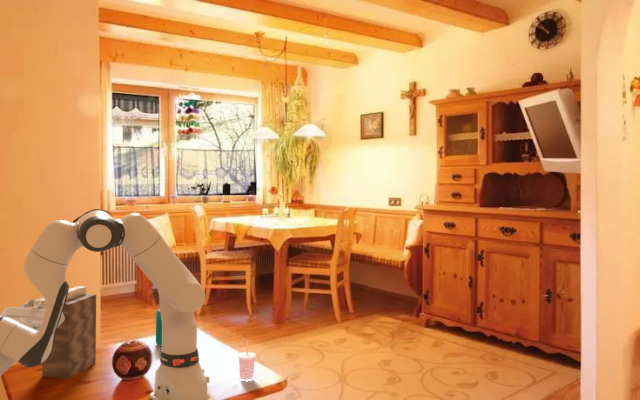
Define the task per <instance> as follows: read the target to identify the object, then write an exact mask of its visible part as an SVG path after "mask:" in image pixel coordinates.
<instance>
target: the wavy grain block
mask: <svg viewBox="0 0 640 400" xmlns="http://www.w3.org/2000/svg"><path fill="white" fill-rule="evenodd" d="M63 314H64V317H65V320H64V321H63V322H62V324H61V325H60V326H59V327H58V328H57V330H56V333H55V337H54V341H53V345H52V349H51V352H50V354H49V356H48V358H47V359H46V360H45V361H44V363H43V364H41V365H42V369H41V370H42V372H41V373H42V374H41V375H42V377H43V378H44V377H45V378H54V379H62V380H63V379H64V380H70V379H72V378H73V377H74V376H76V375H78V374H80V373H81V372H83V371H85V370H86V369H89V368H90V367H91V366H93V365H95V364H96V361H97V360H96V357H97V356H96V352H97V351H96V350H97V349H96V348H97V346H96V345H97V294H94V293H86V295H83V296H80V297H78V298H75V299H72V300H69V301H66V302H65V305H64V309H63Z"/></svg>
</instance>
